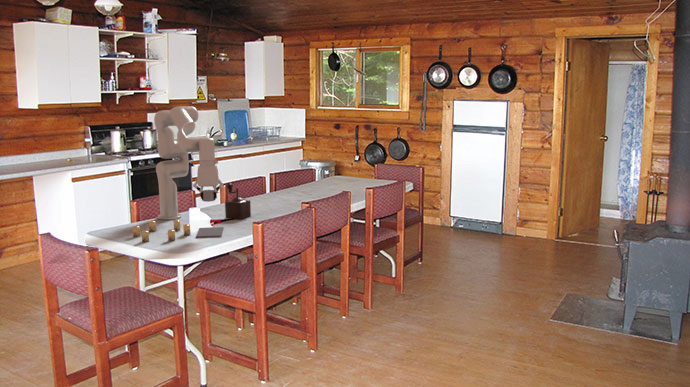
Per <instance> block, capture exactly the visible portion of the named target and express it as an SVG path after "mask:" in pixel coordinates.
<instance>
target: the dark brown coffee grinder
mask: <svg viewBox="0 0 690 387" xmlns="http://www.w3.org/2000/svg"><path fill="white" fill-rule="evenodd" d="M225 187H226V189H227V190H228V192H227V193H228V194H229V195H231V194H236V197H233V198H232V199H230V200H227V201H224V211H225V213H224V214H225V219H227V218H233V219H232V220H239V221H241V220H245V219H247V218H251V217H252V212H251V211H252V210H251V206H252V205H251V200H250V199H245V198H243V196H239V188H238V187H236V188H235V191H234V190H233V188H234V184H233V183H227V184H226V186H225Z"/></svg>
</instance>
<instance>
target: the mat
mask: <svg viewBox="0 0 690 387" xmlns="http://www.w3.org/2000/svg"><path fill="white" fill-rule="evenodd" d="M223 232H224V226H214V227H210V226H209V227H199V228H198V231H197V233H196V235H195V238H196V239H202V238H204V239H206V238H222V236H223Z"/></svg>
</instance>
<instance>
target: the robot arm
mask: <svg viewBox="0 0 690 387" xmlns="http://www.w3.org/2000/svg"><path fill="white" fill-rule="evenodd" d="M198 120H199V112H198V110H197V108H196V107H194V106H191V105H187V106H182V105H181V106H175V107H172V108H171V109H165V110H159V111H157V112H155V114H154V119H153V121H154V126H155V130H156V134H157V150H158V151H157V152H158V155H159V157H160V158H161V159H172V160H163V161H160V162H158V163H157V164H156V166H155V172H156V176H157V181H158V196H159V210H160V211H159V212H160V213H159V214H158V215H157V219H159V220H164V221H165V220H167V221H168V220H178V219H180V218H181V217H182V214H181V213H179V204H178V187H177V186H178V185H177V184H176V181H174V180H173V179H174V178H183V177H186V176H187V175H188V174H189V168H190V167H189V166H190V165H189V153H198V159H199V160H198V161H199V165H198V167H197V179H196V180H195V182H194V183H193V184H192V187H193V188H195V189H196V190H197V191H198V192H199V194H200V199H201V201H203V190H204V188H205V187H207V188H208V187H212V190H214V201H216V199H218V194H217V192H218V191H220V189H221V188H222V187H223V186H224V183H223V182H222V181H221V180H220V178H219V169H218V165H217V164H219V161H218V160H217V159H216V150H215V149H216V147H215V139H214V138H212V137H207V136H206V135H205V136H189V135H190V134H192V133H193V132H194V131H195V129H196V124H195V123H196V122H197V121H198ZM172 127H176V128H177V129H178V130H177V133H176V139H177V140H175V134H174V131H173V129H172ZM173 159H175V160H173ZM203 202H204V201H203Z"/></svg>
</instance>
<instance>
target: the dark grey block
mask: <svg viewBox="0 0 690 387" xmlns="http://www.w3.org/2000/svg"><path fill="white" fill-rule="evenodd" d="M214 201H215V200H214V189H203V202H207V203H208V202H214Z"/></svg>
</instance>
